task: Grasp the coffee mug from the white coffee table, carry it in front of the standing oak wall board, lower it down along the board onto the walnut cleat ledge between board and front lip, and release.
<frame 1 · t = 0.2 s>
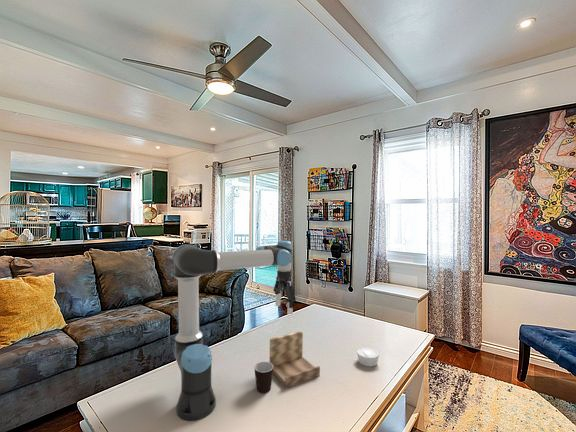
hand: (283, 309, 152), 28 cm above the table, fingers open, 13 cm apart
coffee mug: (264, 387, 130), on the table
cleat board: (294, 373, 141), on the table
ramekin: (367, 362, 152), on the table
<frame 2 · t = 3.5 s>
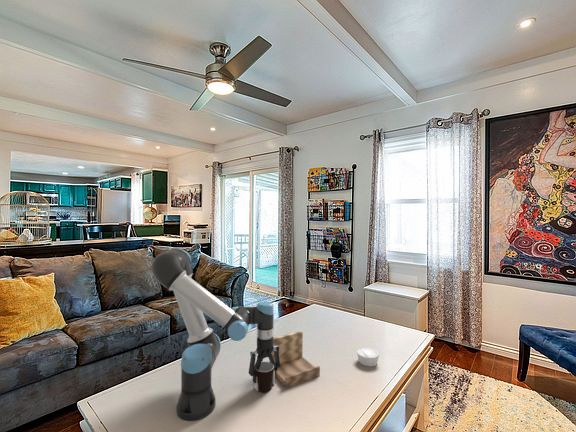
hand: (264, 386, 130), 0 cm above the table, fingers open, 8 cm apart
coffee mug: (265, 386, 130), on the table, touching gripper
everything else where it was.
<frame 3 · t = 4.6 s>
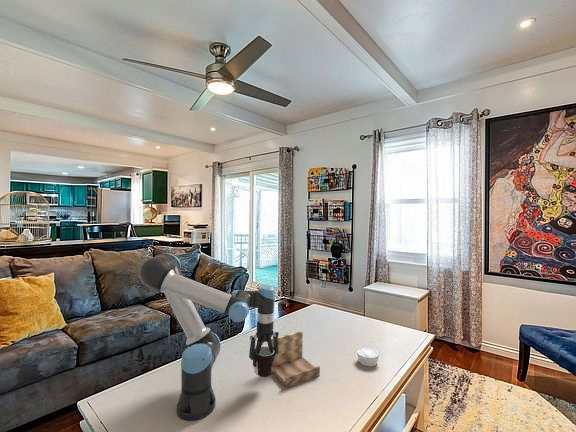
hand: (263, 371, 130), 7 cm above the table, fingers closed on coffee mug, 6 cm apart
coffee mug: (264, 371, 130), point 7 cm above the table, touching gripper
everything else where it was.
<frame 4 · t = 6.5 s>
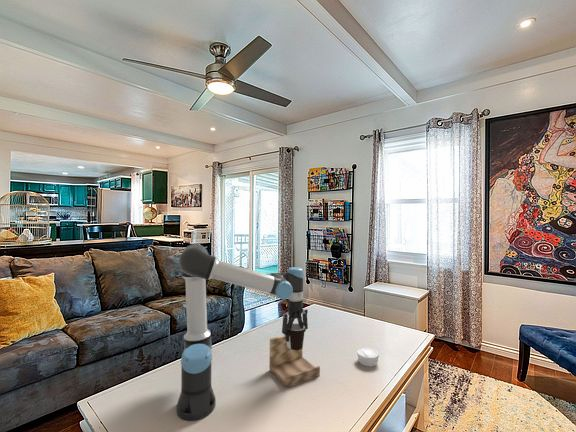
hand: (294, 345, 141), 14 cm above the table, fingers closed on coffee mug, 6 cm apart
coffee mug: (296, 346, 141), point 13 cm above the table, touching gripper
everything else where it was.
when the fingers open (4 cm above the table, at t = 8.9 s): coffee mug drops 1 cm, resting on cleat board.
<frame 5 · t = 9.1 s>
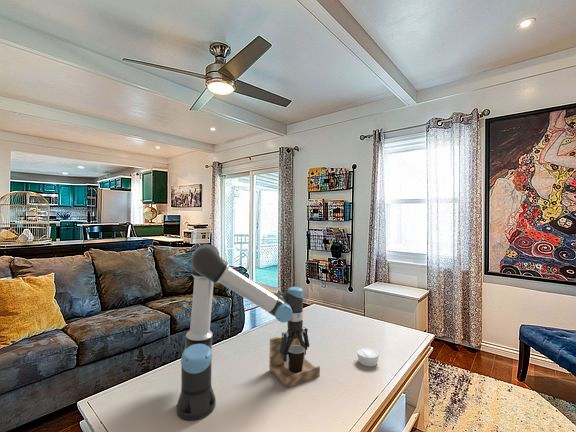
hand: (294, 364, 141), 4 cm above the table, fingers open, 9 cm apart
coffee mug: (296, 368, 141), point 2 cm above the table, touching cleat board
everything else where it was.
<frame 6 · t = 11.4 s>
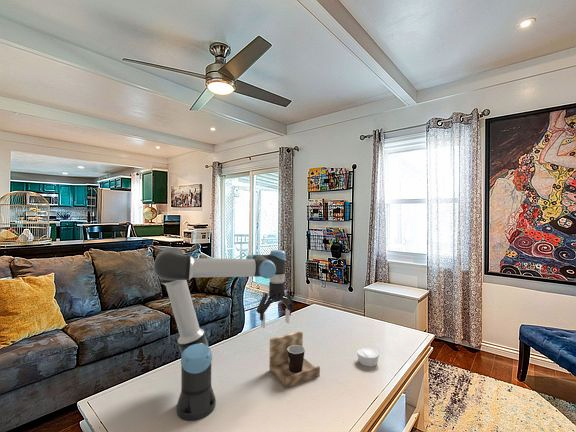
hand: (275, 324, 141), 24 cm above the table, fingers open, 13 cm apart
nothing on the table moved.
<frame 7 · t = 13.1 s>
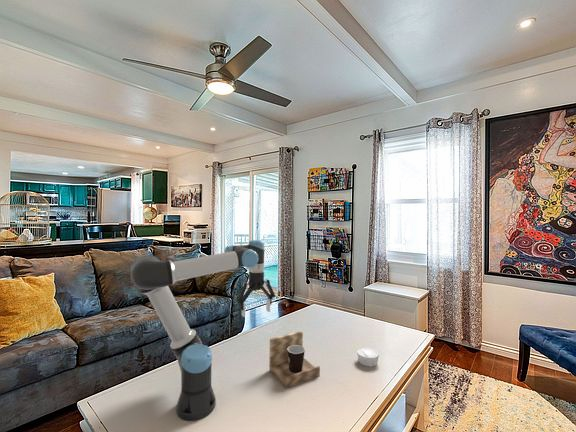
hand: (256, 313, 142), 29 cm above the table, fingers open, 13 cm apart
nothing on the table moved.
at the end: coffee mug inside the target area on the cleat board (1.0 cm from its centre), point 2.3 cm above the cleat board's base; coffee mug tilted 0°; coffee mug touching cleat board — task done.
